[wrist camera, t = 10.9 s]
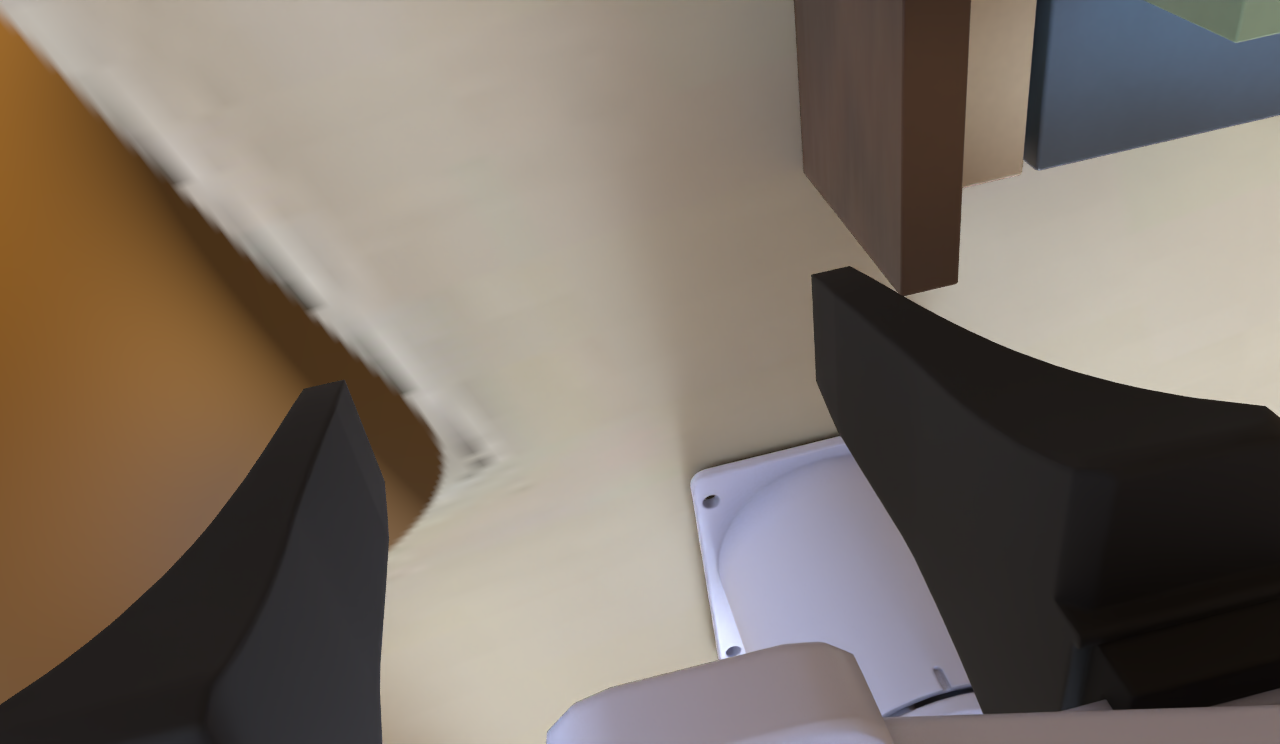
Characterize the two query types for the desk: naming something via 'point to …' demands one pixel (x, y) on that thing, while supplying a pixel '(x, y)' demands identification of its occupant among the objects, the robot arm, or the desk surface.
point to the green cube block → (1228, 16)
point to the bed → (996, 104)
